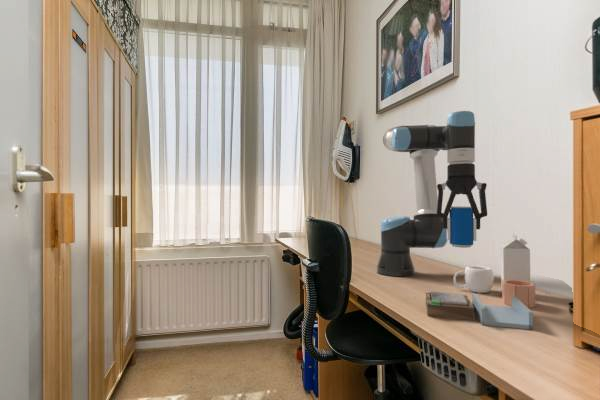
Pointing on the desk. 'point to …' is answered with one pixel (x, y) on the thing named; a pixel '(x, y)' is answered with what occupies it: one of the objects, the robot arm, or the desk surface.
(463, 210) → the beverage can
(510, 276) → the milk carton
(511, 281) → the cup
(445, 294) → the grey flat square plate
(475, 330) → the desk surface
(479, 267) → the mug
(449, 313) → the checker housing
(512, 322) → the trough
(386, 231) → the robot arm
